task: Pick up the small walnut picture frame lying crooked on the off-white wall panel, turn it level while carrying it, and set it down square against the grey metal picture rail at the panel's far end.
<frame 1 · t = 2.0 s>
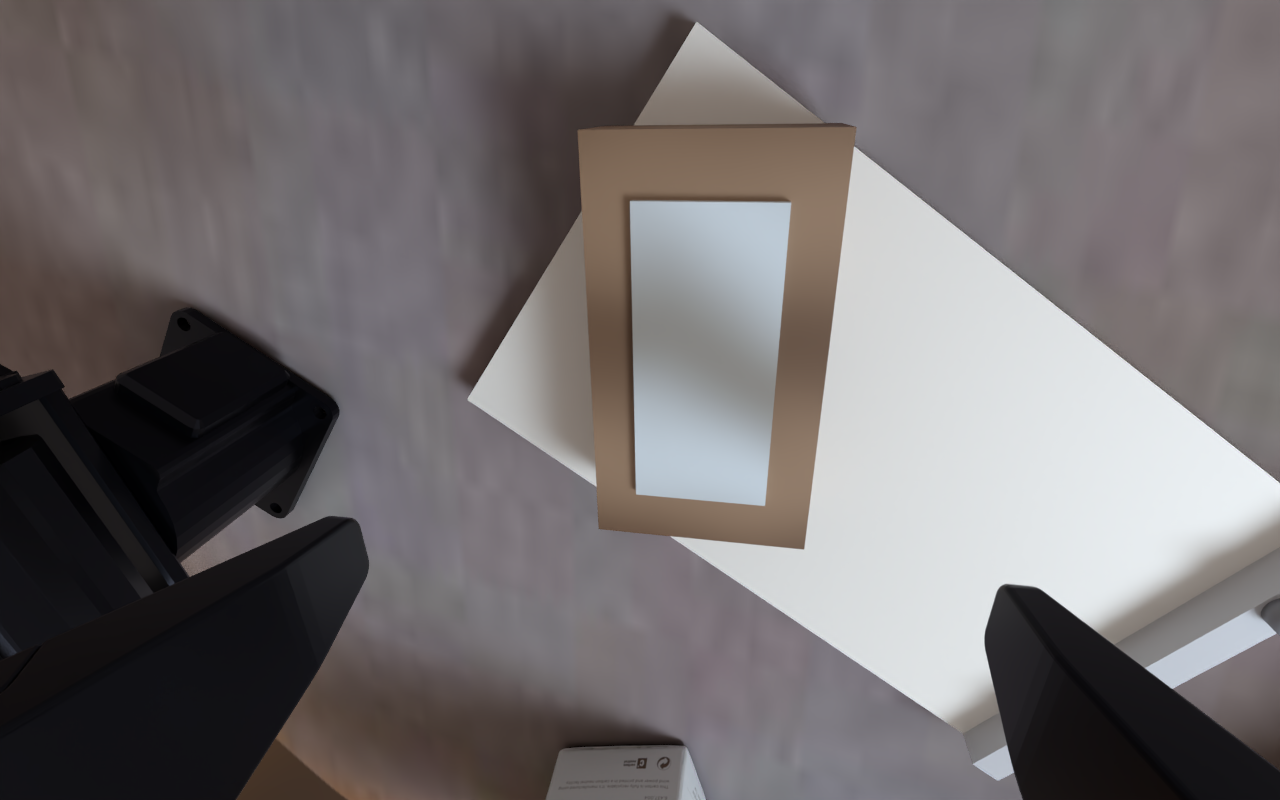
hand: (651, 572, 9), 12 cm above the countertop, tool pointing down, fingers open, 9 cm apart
frame: (712, 328, 18), point 1 cm above the countertop, touching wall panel
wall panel: (879, 459, 20), on the countertop
skincare box: (650, 795, 30), on the countertop
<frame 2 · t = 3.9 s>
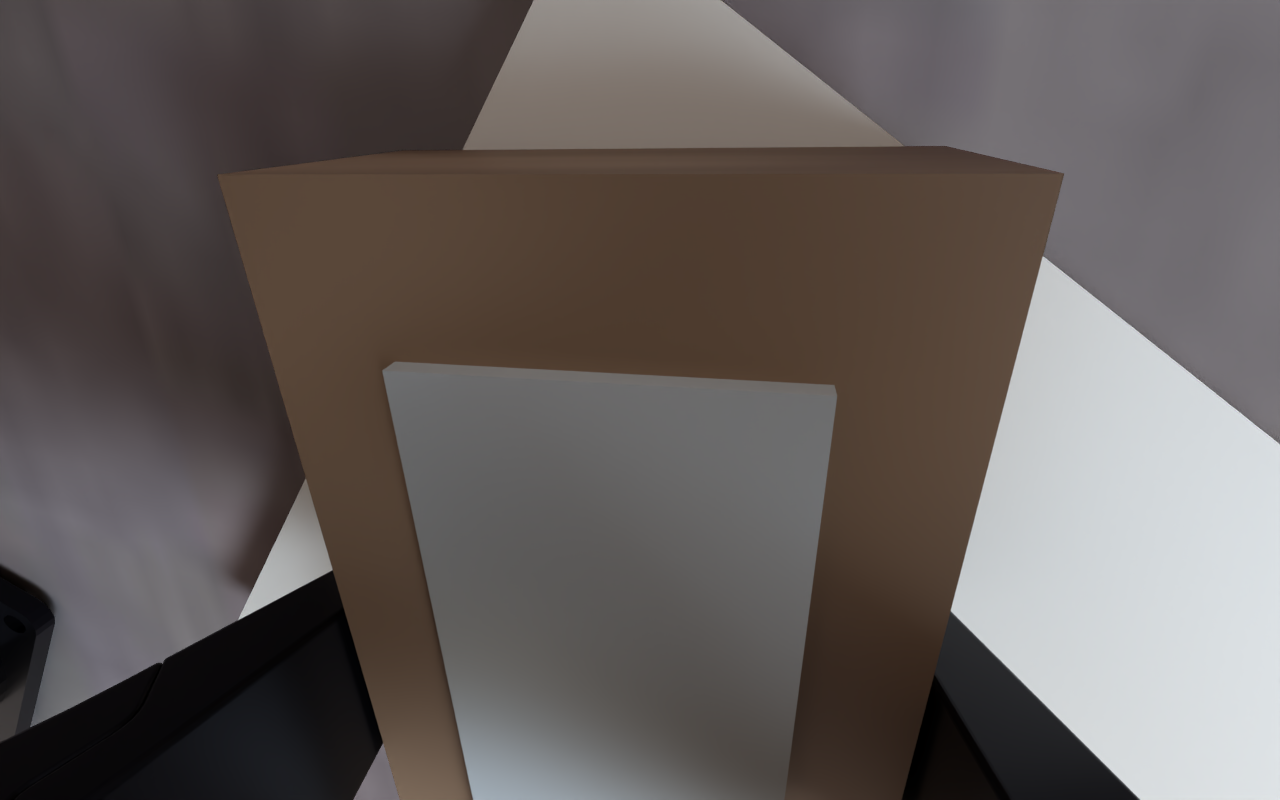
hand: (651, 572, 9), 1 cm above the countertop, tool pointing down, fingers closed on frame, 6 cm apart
frame: (657, 549, 9), point 1 cm above the countertop, touching gripper, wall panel
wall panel: (972, 752, 11), on the countertop
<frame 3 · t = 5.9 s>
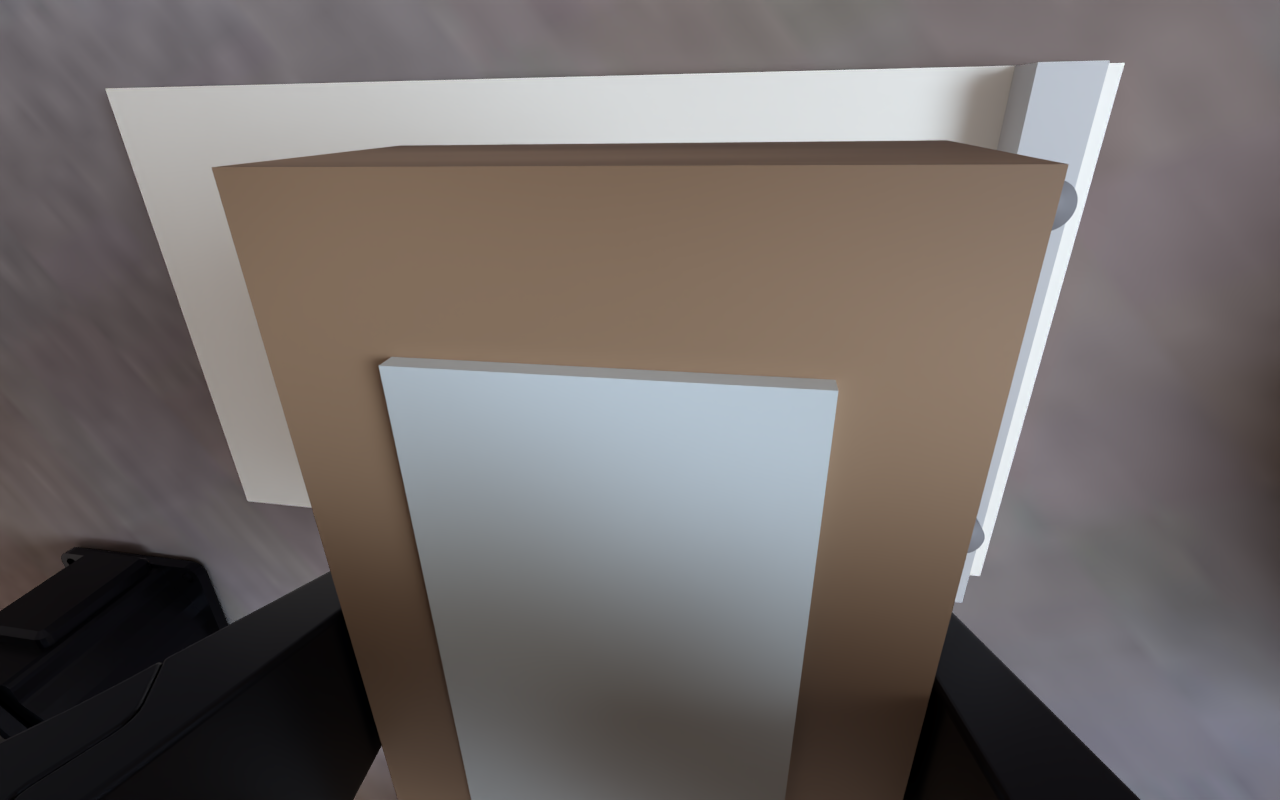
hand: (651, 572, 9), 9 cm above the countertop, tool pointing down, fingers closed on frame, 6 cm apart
frame: (656, 547, 9), point 9 cm above the countertop, touching gripper
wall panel: (570, 334, 18), on the countertop
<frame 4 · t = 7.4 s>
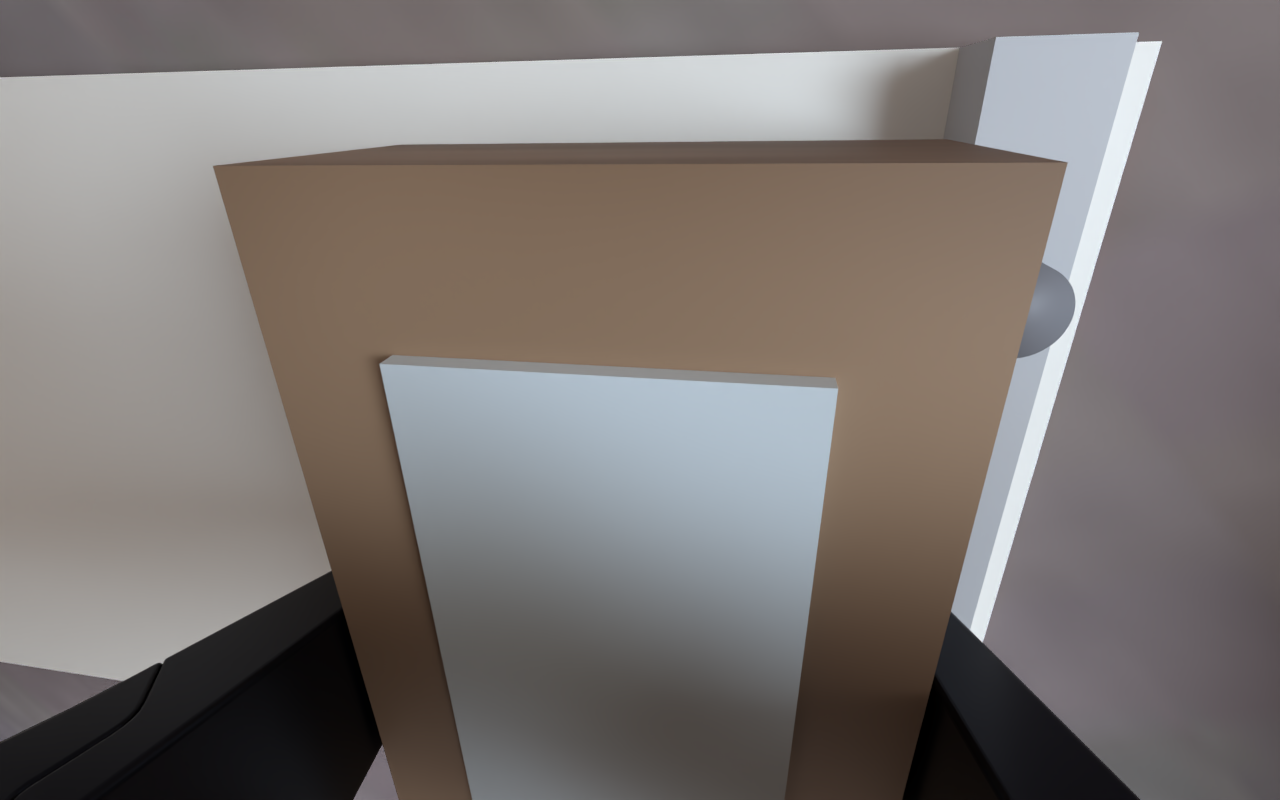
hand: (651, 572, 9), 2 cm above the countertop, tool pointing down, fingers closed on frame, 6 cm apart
frame: (656, 546, 9), point 2 cm above the countertop, touching gripper
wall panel: (326, 453, 12), on the countertop
when the fingers open (2 cm above the countertop, at t = 8.2 s): frame drops 1 cm, resting on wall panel.
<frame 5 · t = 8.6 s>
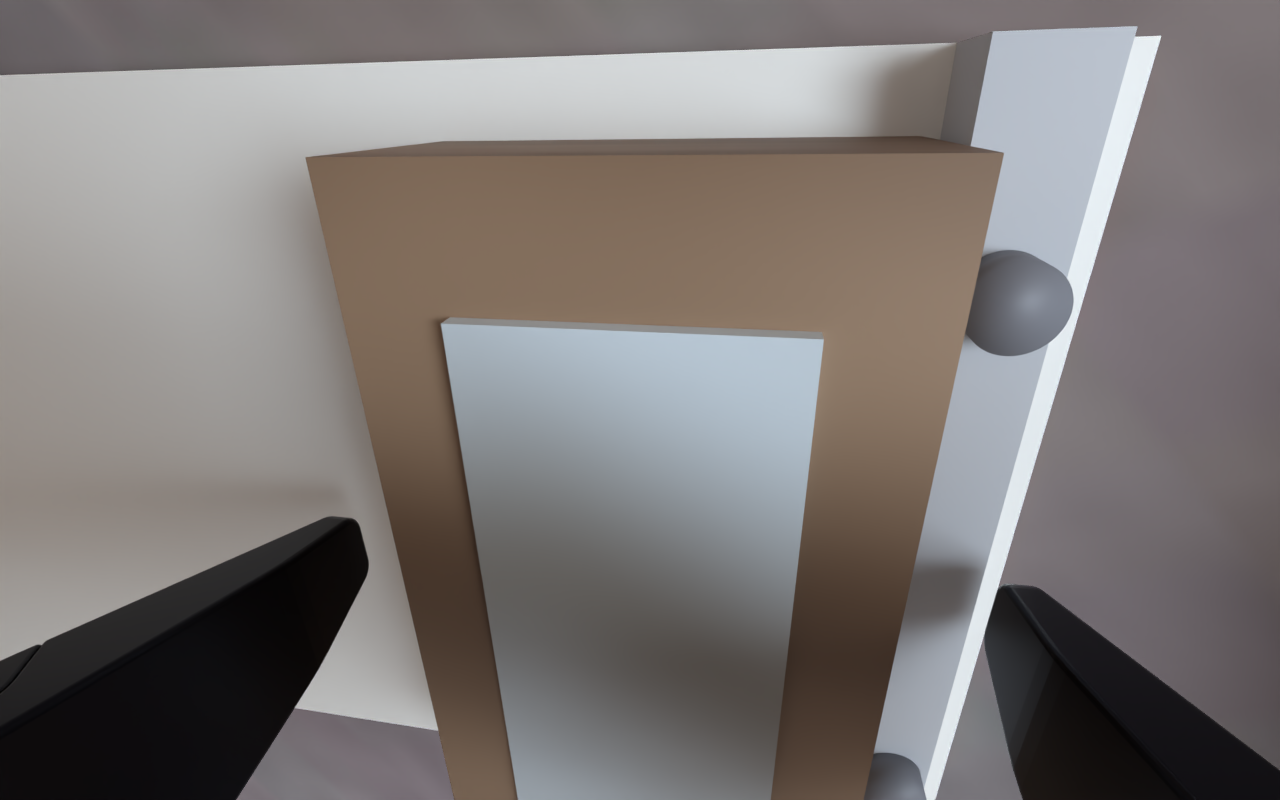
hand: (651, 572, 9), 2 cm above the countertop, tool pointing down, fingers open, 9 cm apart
frame: (666, 504, 10), point 1 cm above the countertop, touching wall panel
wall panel: (323, 452, 12), on the countertop
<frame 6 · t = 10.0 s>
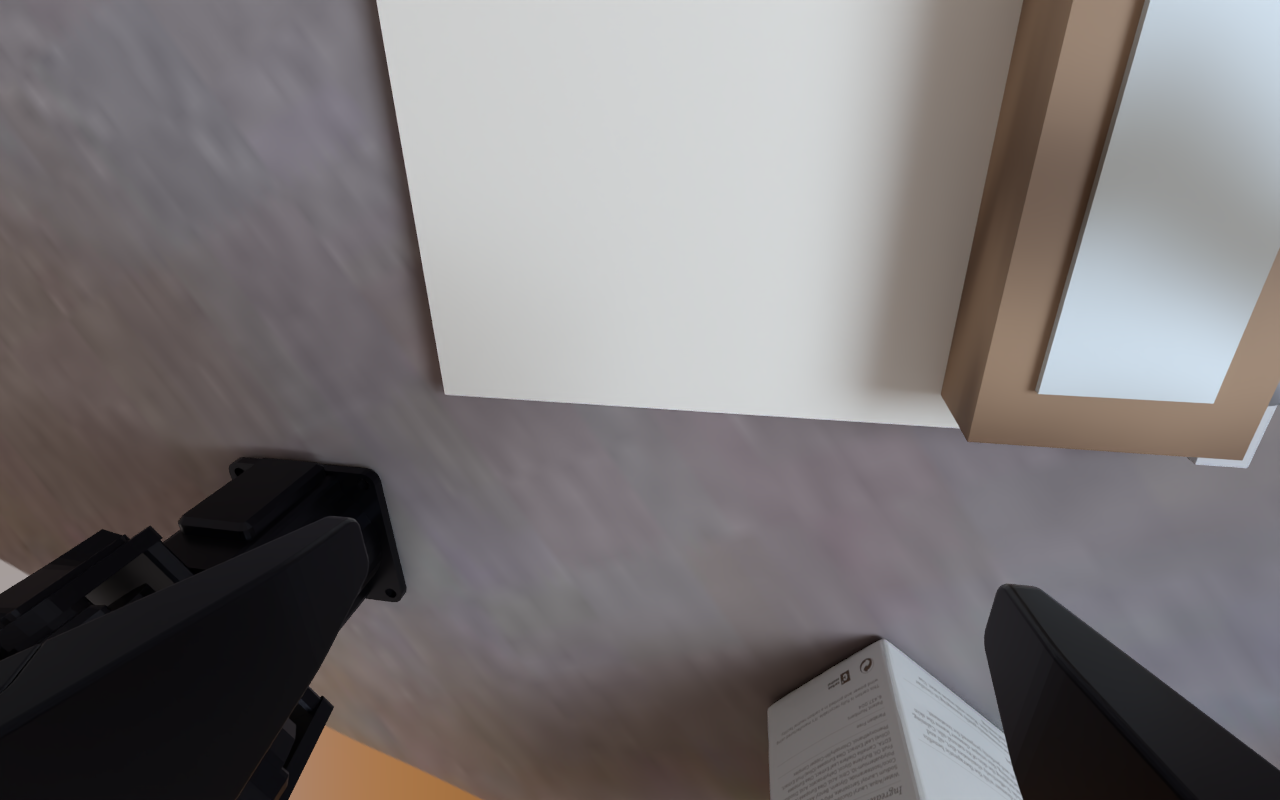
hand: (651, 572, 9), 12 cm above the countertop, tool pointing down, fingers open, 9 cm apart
frame: (1114, 198, 15), point 1 cm above the countertop, touching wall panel
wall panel: (824, 195, 17), on the countertop
skincare box: (896, 719, 25), on the countertop
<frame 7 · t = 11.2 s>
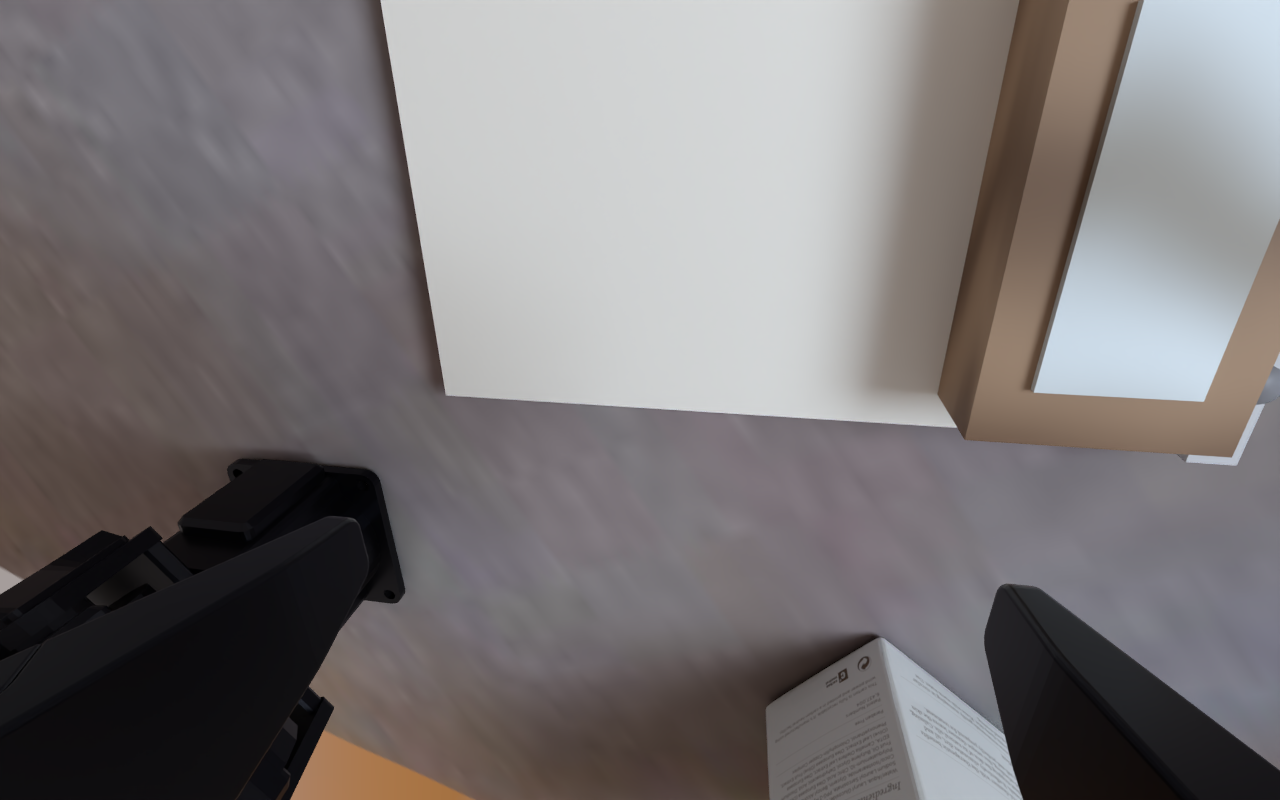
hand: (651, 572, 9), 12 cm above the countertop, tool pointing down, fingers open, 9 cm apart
frame: (1106, 202, 16), point 1 cm above the countertop, touching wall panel
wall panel: (823, 198, 17), on the countertop
skincare box: (893, 717, 26), on the countertop
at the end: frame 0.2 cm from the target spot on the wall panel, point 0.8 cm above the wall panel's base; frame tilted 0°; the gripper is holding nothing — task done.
